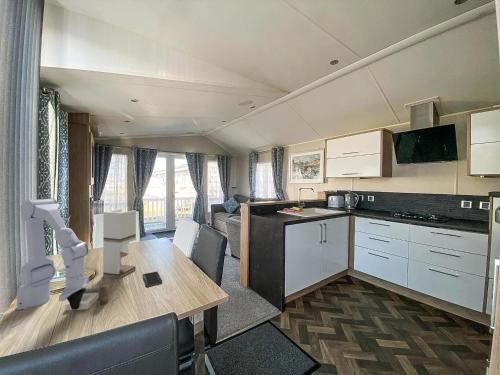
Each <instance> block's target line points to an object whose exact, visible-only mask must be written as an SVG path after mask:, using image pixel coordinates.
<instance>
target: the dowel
mask: <svg viewBox="0 0 500 375" xmlns="http://www.w3.org/2000/svg"><path fill="white" fill-rule="evenodd" d="M99 288H100V298H99V305H100V306H105V305H106V304H108V303H109V284H101V285H100V286H99Z"/></svg>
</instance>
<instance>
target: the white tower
mask: <svg viewBox="0 0 500 375" xmlns="http://www.w3.org/2000/svg"><path fill="white" fill-rule="evenodd" d="M102 217H103V222H102V223H103V226H102V227H103V232H102V233H103V240H102V242H103V245H102V248H103V251H102V254H103V256H102V257H103V258H102V261H103V262H102V263H103V264H102V265H103V266H102V269H103V270H102V271H103V272H102V274H103V275H102V276H103V277H106V278H115V279H122V278H123V277H125V276H127V275H129V274H131V273H132V272H134V271H136V270H137V269H136V265H128V264H122V259H123V258H124V257H127V256H129V255H130V249H129V248H130V246H129V245H130V242H134V241H137V210H134V209H133V210H129V211H123V210H122V209H115V210H108V211H103V216H102Z"/></svg>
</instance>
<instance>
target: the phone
mask: <svg viewBox="0 0 500 375" xmlns="http://www.w3.org/2000/svg"><path fill="white" fill-rule="evenodd" d="M142 279H143V282H144V286H145V287H146V288H149V287H153V286H158V285H162V284H163V280H162V277H161V275H160V274H159V272H158V271H152V272H148V273H142Z"/></svg>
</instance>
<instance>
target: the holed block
mask: <svg viewBox="0 0 500 375" xmlns="http://www.w3.org/2000/svg"><path fill="white" fill-rule="evenodd" d="M98 299H100V298H99V293H84V294H83V296H82V298H81V302H80V305H79V308H78V309H75V310H74V311H78V310H79V311H81V310H82V311H83V310H89V309H90V308H91V306H92V305H94V304H95V303H96V302H97V300H98ZM64 306H65V307H64V309H65V310H64V311H73V310H72V309H71V306H70V303H69V301H67V302H66V303H65V304H64Z"/></svg>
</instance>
